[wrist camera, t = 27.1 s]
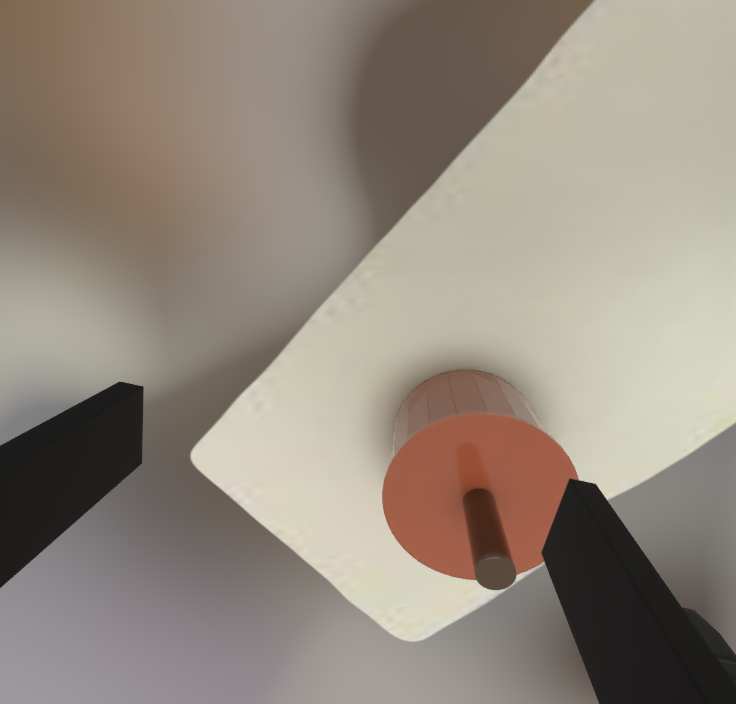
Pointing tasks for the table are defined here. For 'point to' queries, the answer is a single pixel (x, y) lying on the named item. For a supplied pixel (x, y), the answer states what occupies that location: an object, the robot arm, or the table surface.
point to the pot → (458, 401)
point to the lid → (476, 495)
